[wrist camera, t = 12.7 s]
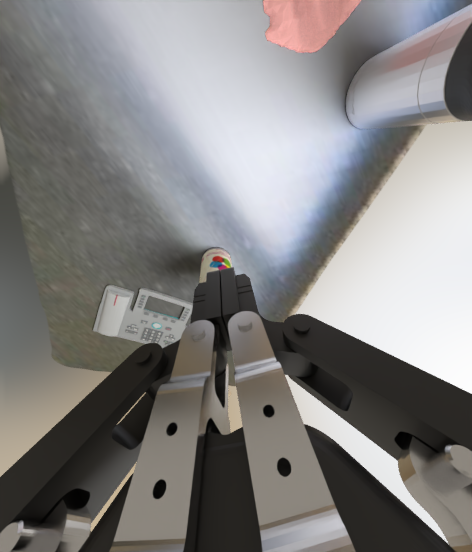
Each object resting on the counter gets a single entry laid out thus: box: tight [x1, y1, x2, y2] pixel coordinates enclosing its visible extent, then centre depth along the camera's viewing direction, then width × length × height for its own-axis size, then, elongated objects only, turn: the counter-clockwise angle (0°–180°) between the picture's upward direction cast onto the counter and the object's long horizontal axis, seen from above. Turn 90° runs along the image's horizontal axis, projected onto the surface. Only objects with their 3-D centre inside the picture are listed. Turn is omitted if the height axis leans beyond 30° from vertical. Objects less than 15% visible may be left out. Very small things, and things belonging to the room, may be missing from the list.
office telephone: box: [93, 284, 193, 348], centre depth 54 cm, size 23×3×20 cm
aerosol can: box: [199, 247, 232, 283], centre depth 39 cm, size 7×7×20 cm
